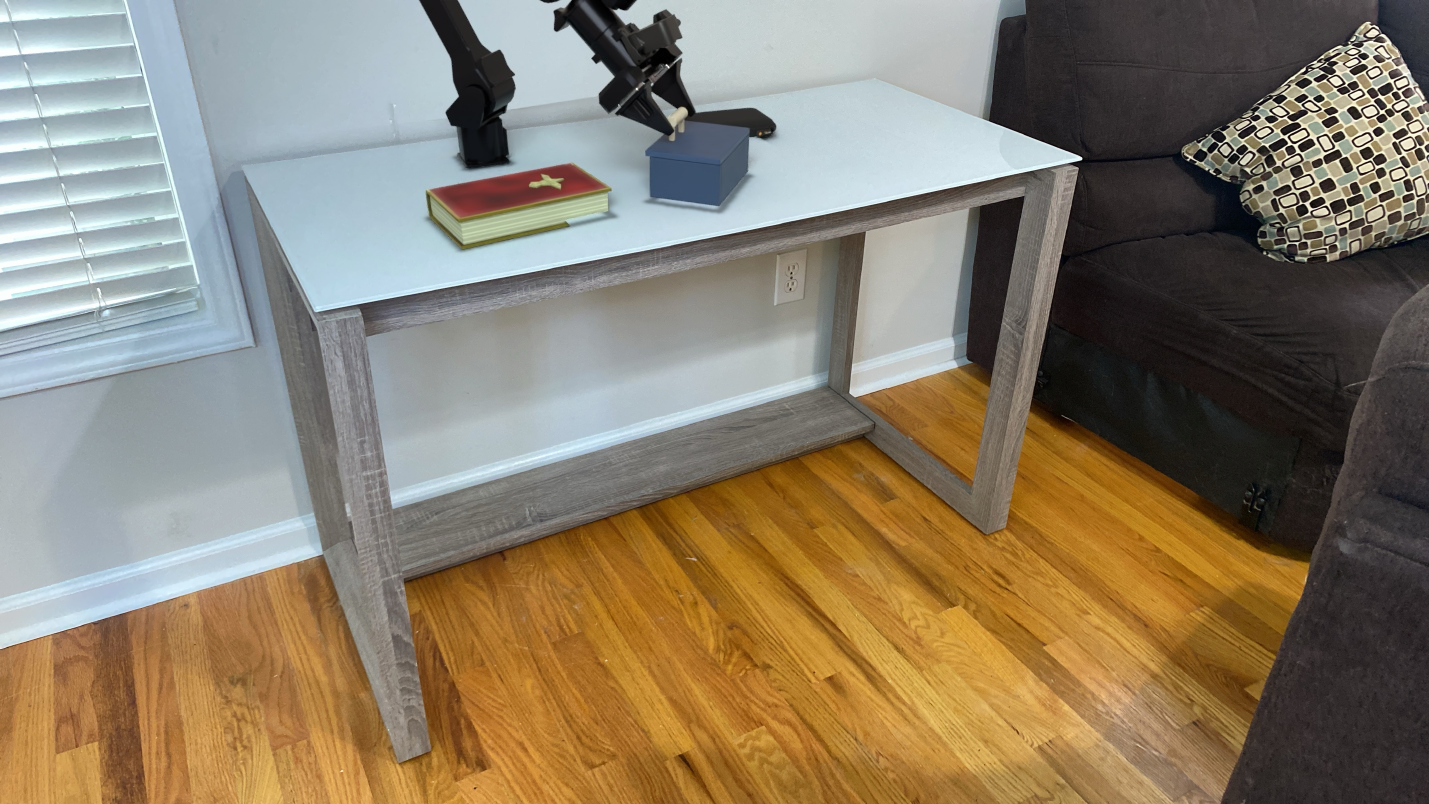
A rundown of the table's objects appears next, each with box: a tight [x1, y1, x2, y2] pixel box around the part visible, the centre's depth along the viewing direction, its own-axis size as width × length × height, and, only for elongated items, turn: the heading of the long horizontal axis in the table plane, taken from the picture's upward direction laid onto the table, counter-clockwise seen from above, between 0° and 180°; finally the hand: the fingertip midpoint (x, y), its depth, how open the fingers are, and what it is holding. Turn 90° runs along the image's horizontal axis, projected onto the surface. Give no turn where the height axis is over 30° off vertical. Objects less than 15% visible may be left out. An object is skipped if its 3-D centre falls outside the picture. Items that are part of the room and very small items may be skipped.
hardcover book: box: [425, 162, 612, 250], centre depth 127 cm, size 12×21×4 cm, turn 123°
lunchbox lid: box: [644, 107, 750, 165], centre depth 134 cm, size 11×15×4 cm
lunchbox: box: [648, 134, 750, 207], centre depth 137 cm, size 10×15×6 cm
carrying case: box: [684, 107, 777, 139], centre depth 158 cm, size 11×3×15 cm
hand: (683, 124), depth 134 cm, fingers open, 9 cm apart
